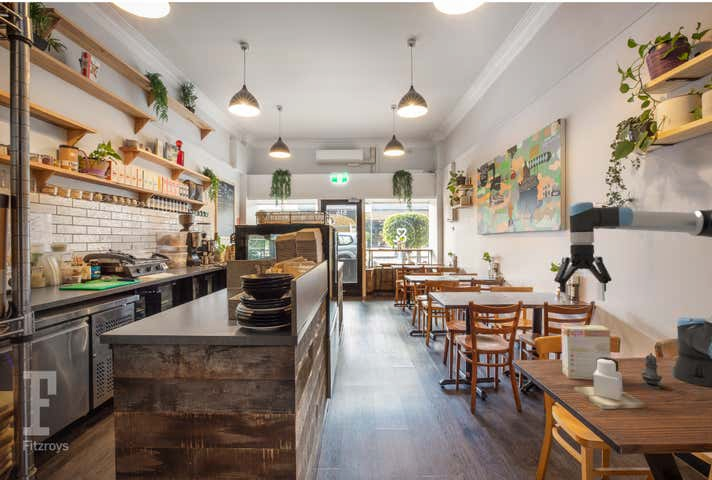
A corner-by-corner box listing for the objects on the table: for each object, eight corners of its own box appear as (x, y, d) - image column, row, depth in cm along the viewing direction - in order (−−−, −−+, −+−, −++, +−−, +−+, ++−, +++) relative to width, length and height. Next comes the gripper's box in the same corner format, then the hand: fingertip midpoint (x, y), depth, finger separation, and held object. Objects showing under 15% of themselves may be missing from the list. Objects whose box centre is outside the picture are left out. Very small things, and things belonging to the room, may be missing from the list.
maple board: (612, 389, 128) (612, 385, 128) (645, 407, 114) (645, 403, 114) (574, 390, 127) (574, 387, 127) (602, 409, 113) (602, 405, 113)
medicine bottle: (597, 388, 126) (596, 354, 126) (622, 394, 121) (621, 358, 121) (593, 395, 121) (592, 359, 121) (619, 401, 116) (618, 364, 116)
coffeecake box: (603, 374, 142) (602, 325, 142) (612, 381, 135) (610, 329, 135) (561, 372, 145) (560, 324, 145) (568, 378, 138) (567, 328, 138)
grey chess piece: (666, 389, 127) (665, 355, 127) (647, 388, 128) (646, 354, 128) (656, 383, 133) (655, 350, 133) (637, 382, 134) (637, 349, 134)
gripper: (607, 243, 138) (608, 298, 138) (543, 244, 137) (544, 300, 137) (622, 243, 130) (623, 301, 130) (555, 244, 130) (556, 303, 130)
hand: (583, 300), depth 134 cm, fingers open, 13 cm apart
